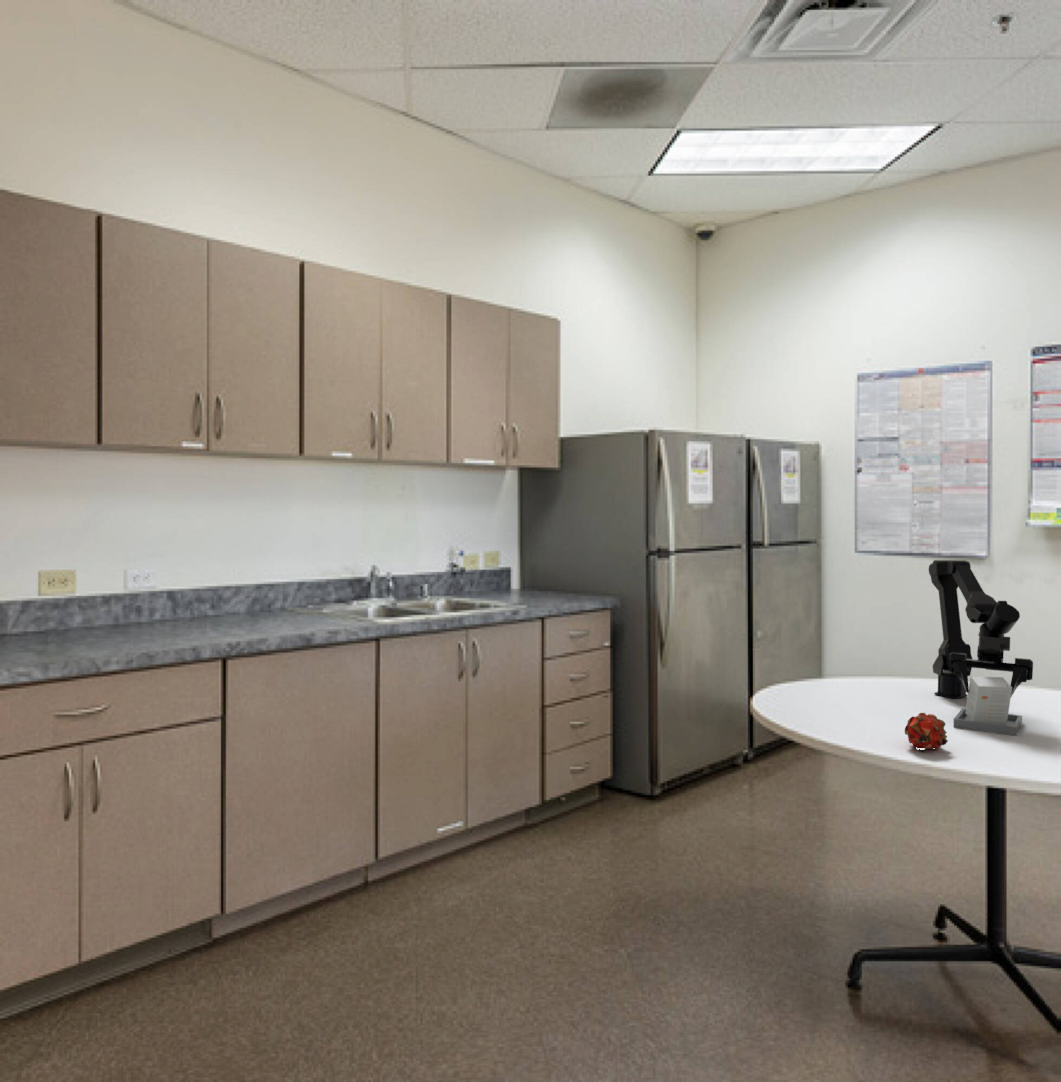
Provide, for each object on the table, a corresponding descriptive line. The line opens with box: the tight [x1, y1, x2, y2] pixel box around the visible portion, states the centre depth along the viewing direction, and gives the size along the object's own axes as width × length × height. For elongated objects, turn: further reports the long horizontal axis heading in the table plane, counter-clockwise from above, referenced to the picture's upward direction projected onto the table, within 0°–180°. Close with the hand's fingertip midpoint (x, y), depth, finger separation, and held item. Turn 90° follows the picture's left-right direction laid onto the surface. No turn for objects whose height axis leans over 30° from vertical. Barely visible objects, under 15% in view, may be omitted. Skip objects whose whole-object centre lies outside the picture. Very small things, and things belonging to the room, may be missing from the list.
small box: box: [965, 676, 1012, 725], centre depth 212 cm, size 8×6×10 cm
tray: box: [953, 707, 1023, 736], centre depth 213 cm, size 14×14×2 cm
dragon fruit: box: [904, 712, 949, 750], centre depth 193 cm, size 8×8×12 cm
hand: (988, 694), depth 212 cm, fingers closed on small box, 9 cm apart
